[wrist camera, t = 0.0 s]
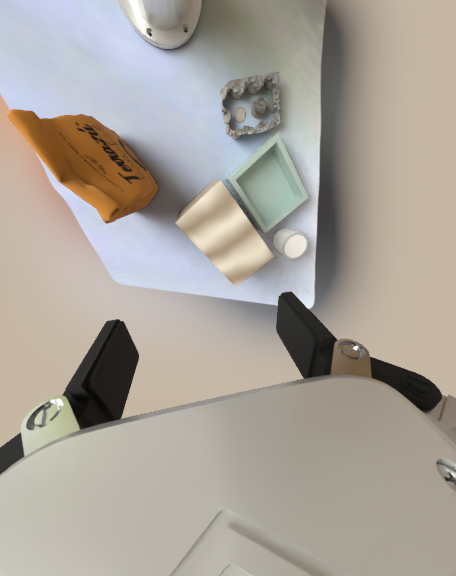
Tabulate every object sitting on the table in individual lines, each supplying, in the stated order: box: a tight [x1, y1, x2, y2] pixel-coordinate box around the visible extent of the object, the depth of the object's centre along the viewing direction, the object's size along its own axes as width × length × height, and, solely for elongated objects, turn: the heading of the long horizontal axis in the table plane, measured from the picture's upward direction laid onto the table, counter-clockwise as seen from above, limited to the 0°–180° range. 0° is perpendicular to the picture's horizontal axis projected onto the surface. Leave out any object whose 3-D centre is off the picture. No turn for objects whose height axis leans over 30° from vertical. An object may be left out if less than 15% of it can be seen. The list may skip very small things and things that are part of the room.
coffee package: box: [7, 109, 159, 223], centre depth 27 cm, size 10×12×22 cm
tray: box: [225, 132, 309, 233], centre depth 40 cm, size 14×12×4 cm
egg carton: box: [221, 72, 281, 139], centre depth 34 cm, size 11×8×4 cm
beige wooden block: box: [175, 180, 274, 287], centre depth 39 cm, size 17×10×13 cm, turn 39°
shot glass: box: [273, 228, 309, 260], centre depth 46 cm, size 7×7×7 cm
